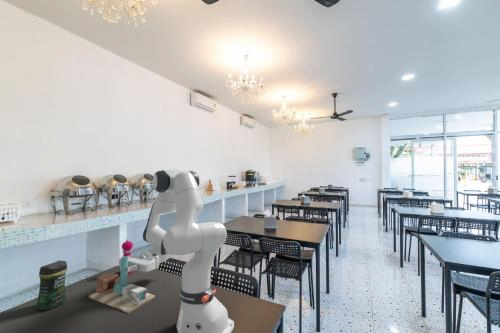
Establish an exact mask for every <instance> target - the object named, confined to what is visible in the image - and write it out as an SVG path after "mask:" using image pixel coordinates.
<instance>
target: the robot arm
mask: <svg viewBox="0 0 500 333" xmlns="http://www.w3.org/2000/svg"><path fill="white" fill-rule="evenodd" d="M152 186H153V190H155V191H156V192H157V193H158V194H157V199H156V201H155V202H153V204H152V205H151V208H150V211H149V214H148V215H149V216H148V217H147V218H148V219H147V222H146V226H145V228H144V230H143V231H142V239H143V241H144V242H146V243H147V244H150V245H152V246H153V248H149V249H148V250H145V251H141V252H140V254H139V256H138V255H134V254H131V255H129V256H127V257H128V267H126V271H127V272H129V271H132V272H134V271H139V272H142V273H148V272H151V271H153V270H158V269H159V266H160V264H162V263H163V262H166V261H167V260H169V259H170V258H171V257H172V256H184V255H188V254H193V256H192V257H191V258H190V259H189V260H188V261H187V262H185V264H184V265H183V267H182V271H181V287H180V294H179V296H180V298H179V299H180V308H179V313H178V314H179V315H178V319H177V323H176V325H175V326H176V327H175V328H176V330H177V333H232V332H233V331H234V328H235V321H234V320H232V319H231V318H229V315H228V310H227V308H226V307H225V305H223V304H222V303H221V302H220V300H218V298H217V297H216V296H215V293H217V291H216V290H217V289H216V288H215V289H214V290H213V286H212V285H211V275H212V274H211V271H212V265H213V263H214V259H215V256H216V255H217V253H218V251H219V250H220V248H221V247H222V246H223V245H224V244H225V243H226V240H227V237H228V234H227V229H226V227H225V225H224V224H223V223H221V222H219V221H218V222H217V221H207V222H198V223H196V222H195V218H196V217H198V216H200V214H202V212H203V209H204V203H203V199H202V196H201V195H202V194H201V191H200V188H199V187H200V177H199V174H198V172H196V171H192V170H179V169H168V170H164V169H162V170H158V171H156V172H155V173H154V174H153V178H152ZM175 211H176V216H175V220H174V222H173V224H172V225H171V226H170V227H169V229H167V230H165V229H163V228H161V227H160V225H159V223H160V222H159V221H160V218H161V216H162V215H167V214H171V213H174V212H175ZM116 268H117V269H118V270H121V257H120V258H119V259H118V265H117V267H116Z"/></svg>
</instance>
